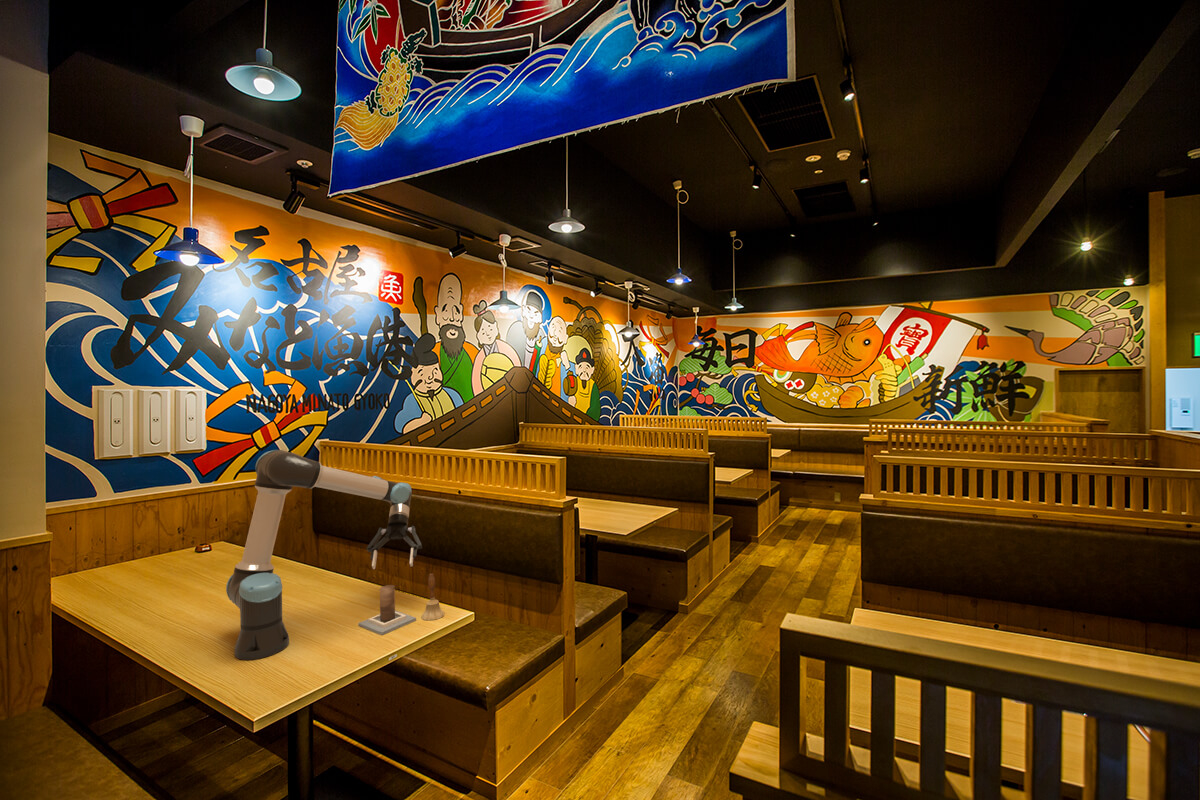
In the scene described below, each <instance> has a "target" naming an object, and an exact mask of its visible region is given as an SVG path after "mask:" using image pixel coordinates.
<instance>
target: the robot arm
mask: <svg viewBox="0 0 1200 800" xmlns="http://www.w3.org/2000/svg"><path fill="white" fill-rule="evenodd" d="M255 473H256V479H255V483H254V487H255V489H256V490H257V495H256V501H255V505H254V509H253V514H252V517H251V520H250V525H249V529H248V532H247V536H246V537H247V538H246V541H245V546H244V549H243V550H244V551H243V553H242V556H241V557H242V559H241V560H240V561H239V562H238V563H237V564H235V565H234V570H233V572H232V573H233V574H231V576H230V577H229V578H228V580H227V583H226V585H225V586H226V587H225V588H226V589H225V590H226V594H227V595H226V596H227V598H228V599H229V600H230V601H231V603H233V604H234V605H235V606H236V607H238V609H239V612H240V613H239V615H240V616H239V617H240V631H239V634H238V636H237V639H236V643H235V644H234V645H235V646H234V657H235V658H236V659H238V660H243V661H249V660H250V661H252V660H258V659H262V658H267V657H269V656H273V655H275V653H276V654H277V653H278V654H279V653H280V652H281V650H282V651H284V650H285V649H286V648H287V647H288V646H289V643H290V636H289V633H288V630H287V628H286V626H285V623H284V622H283V584H282V579H281V576H280V575H278V574H276V573H274V568H275V566H274V564H272V562H271V561H272V556H273V551H274V547H275V543H276V539H277V535H278V531H279V526H280V521H281V518H282V513H283V509H284V504H285V502H286V501H285V500H286V495H287V494H288V493H290V492H291V491H292V490H293V487H295V488H296V487H297V488H304V489H310V490H311V489H313V488H315V487H316V488H321V489H326V490H331V491H335V492H341V493H345V494H350V495H355V496H361V497H364V498H365V497H366V498H371V499H375V500H381V501H385V502H386V503H389V504H390V506H389V507H390V509H389V515H388V516H389V517H388V522H387V527H386V528H382V527H379V528H378V530H377V533H376V534H375V536H374V537H373V538H372V539H371V541H370V542H369V543H368V545H367V547H366V550H367V553H370V561H371V567H372V570H375V569H376V566H377V559H378V551H379V550H380V549H381V548H382V547H383V546H384V545H385V544H387V542H390V540H392V541H395V540H401V539H403V540H404V541H405V543H407V544H408V546H410V547H411V548H410V555H409V567H413V566H414V563H413V562H414V559H415V558H417V554H418V553H417V552H418V550H420V549H423V545H422V542H421V540H420V538H419V536H418V535H417V533H416V527H415V526H414V525H412V526H410V527H409V526H408V525H409V517H410V508H411V501H412V487H411V486H412V485H410V484H409V483H407V482H395V481H390V480H386V479H384V478H382V477H379V476H377V475H372V476H368V475H364V474H359V473H355V472H351V471H347V470H341V469H338V468H334V467H329V466H325V465H322V463H321V462H320V461H316V460H313V459H310V458H308V457H304V456H302V455H300V454H297V453H294V452H289V451H287V450H284V449H283V450H282V449H273V450H270V451H269V450H268V451H266V452H264V453H262V455H261V456H259V457H258V459H257V460H256V463H255ZM408 532H409V533H410V534H412V537H413V539H414V541H415V542H414V541H413V539H411V538H410V537H409V536H408V535H407V534H408ZM385 533H386V534H385ZM384 534H385V535H384ZM383 535H384V536H383ZM382 536H383V537H382ZM284 648H285V649H284Z"/></svg>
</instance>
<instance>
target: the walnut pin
mask: <svg viewBox="0 0 1200 800" xmlns="http://www.w3.org/2000/svg"><path fill="white" fill-rule="evenodd" d="M395 586H396V585H393V584H387V585H383V586H380V588H379V608H380V609H379V611H380V612H379V614H380V622H383V623H386V622H388V621H391V620H393V619H395V610H396V596H395V594H396V592H395V591H396V590H395Z"/></svg>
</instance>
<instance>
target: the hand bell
mask: <svg viewBox="0 0 1200 800" xmlns="http://www.w3.org/2000/svg"><path fill="white" fill-rule="evenodd" d="M427 583H428V588H429V600H428V601H427V602H426V603H425V604H426V606H425V610H424V611H423V613H422V614H421V619H422V620H423V621H436V620H439V619H441V618H442V619H443V617H444V616H445V612H444V610H442V609H441V607H440V602H439V599H436V596H435V587H436V579H435V576H434V573H429V576H428V580H427Z"/></svg>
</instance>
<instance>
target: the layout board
mask: <svg viewBox="0 0 1200 800" xmlns="http://www.w3.org/2000/svg"><path fill="white" fill-rule="evenodd" d="M416 621H417V617H416V616H415V617H414V616H413V615H411V614H410V615H409V614H407V613H405V612H401V611H399V610H396V609H395V619H393V620H391V621H388V622H386V623H383V622H380V613H379V614H377V615H375V616H372V617H369V618H367V619H365V620H363V621H360V622H358V627H360V628H363V629H366V630H368V631H370V632H373V633H375V634H377V635H380V636H384V635H386V634H389V633H390V632H392V631H395V630H397V629H400V628H402V627H405V626H407V625H408V624H411V623H413V622H416Z"/></svg>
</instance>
